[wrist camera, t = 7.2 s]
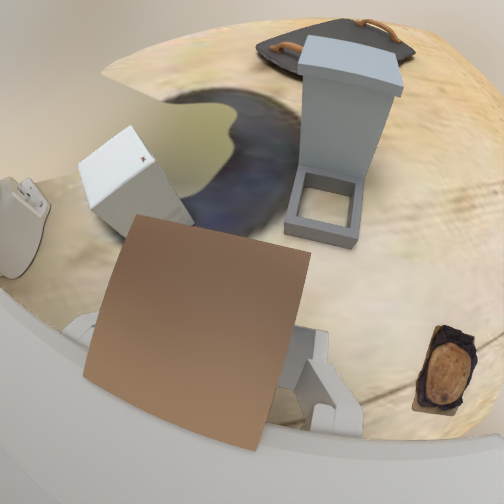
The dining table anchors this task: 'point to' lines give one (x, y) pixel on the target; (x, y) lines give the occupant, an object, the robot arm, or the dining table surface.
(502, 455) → the robot arm
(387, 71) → the pale blue tower
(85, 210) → the dining table surface
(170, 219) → the supplement box
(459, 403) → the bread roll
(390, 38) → the serving board
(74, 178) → the dining table surface
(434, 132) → the dining table surface
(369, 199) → the dining table surface
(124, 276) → the walnut block
